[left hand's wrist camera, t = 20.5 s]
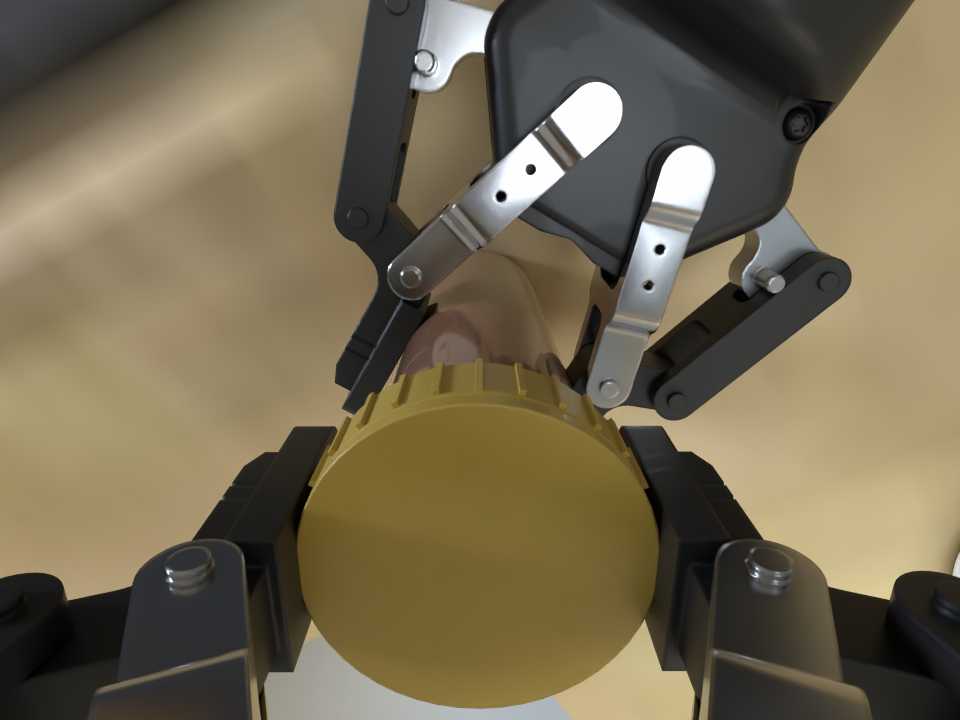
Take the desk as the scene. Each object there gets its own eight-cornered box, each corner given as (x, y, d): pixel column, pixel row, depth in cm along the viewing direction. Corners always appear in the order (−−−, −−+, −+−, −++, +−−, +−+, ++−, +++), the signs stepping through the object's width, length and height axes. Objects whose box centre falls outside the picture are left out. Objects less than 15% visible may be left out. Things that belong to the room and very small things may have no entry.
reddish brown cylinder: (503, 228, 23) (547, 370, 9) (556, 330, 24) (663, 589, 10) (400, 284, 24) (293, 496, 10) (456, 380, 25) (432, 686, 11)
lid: (312, 620, 11) (286, 696, 10) (323, 337, 10) (293, 376, 8) (606, 648, 12) (625, 727, 10) (670, 377, 10) (706, 422, 8)
